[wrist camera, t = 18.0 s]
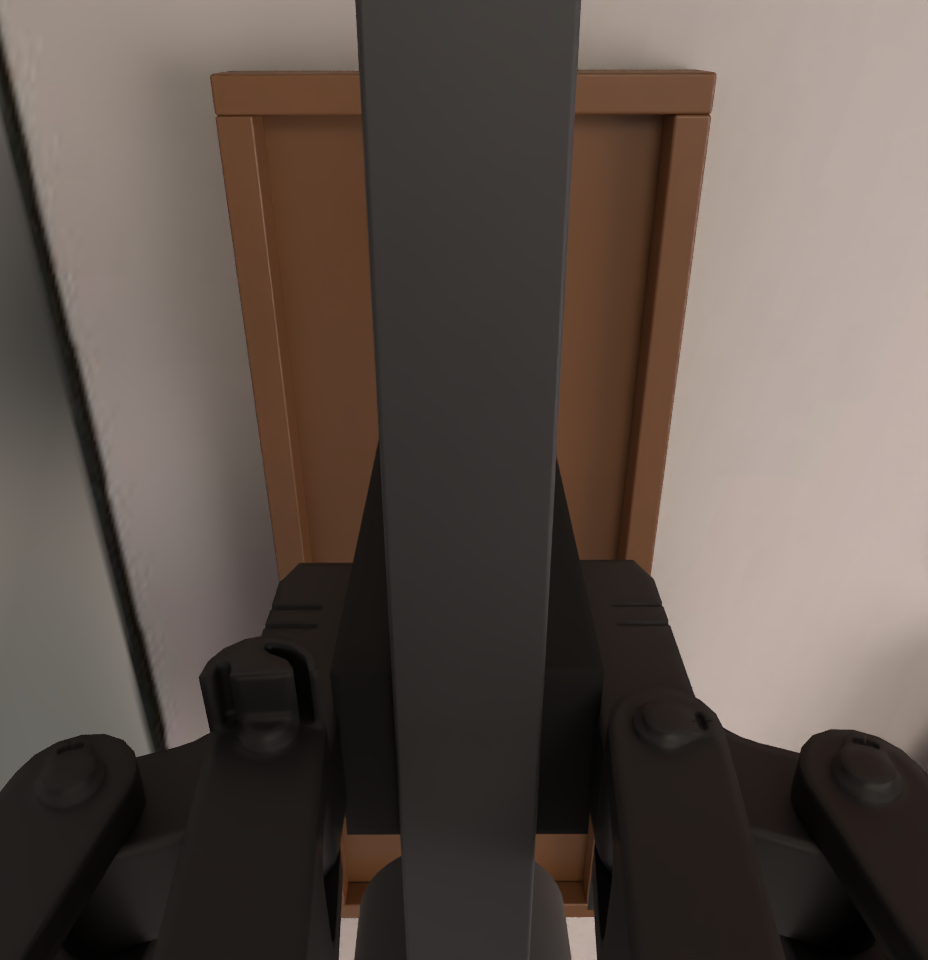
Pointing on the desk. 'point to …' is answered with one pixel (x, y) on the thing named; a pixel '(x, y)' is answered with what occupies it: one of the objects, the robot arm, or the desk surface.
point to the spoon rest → (350, 343)
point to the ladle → (467, 451)
